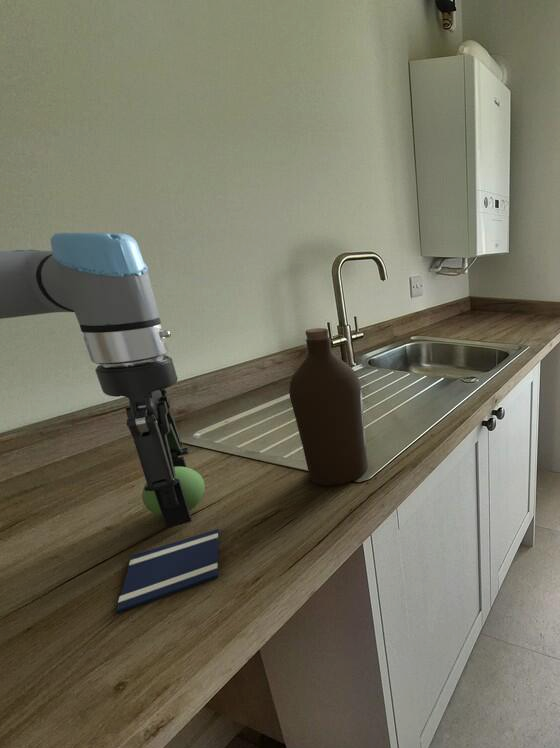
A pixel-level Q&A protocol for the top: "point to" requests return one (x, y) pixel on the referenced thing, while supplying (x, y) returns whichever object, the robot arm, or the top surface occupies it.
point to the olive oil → (329, 413)
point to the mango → (190, 485)
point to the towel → (170, 569)
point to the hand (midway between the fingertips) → (181, 509)
